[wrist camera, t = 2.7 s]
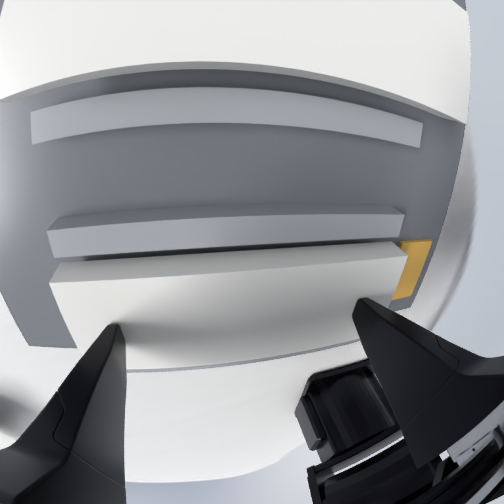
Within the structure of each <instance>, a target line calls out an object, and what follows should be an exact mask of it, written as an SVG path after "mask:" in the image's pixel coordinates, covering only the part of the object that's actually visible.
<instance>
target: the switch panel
mask: <svg viewBox="0 0 504 504" xmlns="http://www.w3.org/2000/svg"><path fill="white" fill-rule="evenodd" d="M453 1H454V2H455V3H456V4H458V5H459V6H460V7H461V8H463V9H464V10H465V11H466V5H465V0H453ZM3 4H4V0H0V15H1V11H2V8H3ZM464 130H465V124H463V123H460V122H456V121H453V120H449V119H445V118H441V117H439V116H436V115H434V114H432V113H429V112H427V111H424V110H421V109H419V108H416V107H414V106H411V105H408V104H405V103H402V102H399V101H397V100H393V99H390V98H387V97H384V96H381V95H377V94H374V93H371V92H367V91H363V90H360V89H356V88H352V87H348V86H344V85H339V84H335V83H330V82H325V81H320V80H315V79H309V78H303V77H297V76H291V75H283V74H275V73H266V72H256V71H243V70H223V69H181V70H161V71H149V72H138V73H130V74H122V75H115V76H109V77H103V78H97V79H92V80H87V81H82V82H77V83H73V84H69V85H65V86H61V87H57V88H53V89H50V90H46V91H43V92H39V93H36V94H33V95H30V96H27V97H24V98H21V99H18V100H16V101H8V102H0V292H1V294H2V296H3V298H4V300H5V302H6V304H7V306H8V308H9V310H10V312H11V314H12V316H13V318H14V320H15V322H16V324H17V326H18V328H19V329H20V331H21V333H22V335H23V336H24V338H25V340H26V342H27V343H28V345H29V346H40V347H58V348H77V346H76V344H75V342H74V340H73V338H72V336H71V334H70V332H69V329H68V327H67V325H66V323H65V321H64V319H63V316H62V314H61V312H60V310H59V307H58V305H57V302H56V300H55V297H54V295H53V292H52V290H51V287H50V285H49V282H50V280H51V278H52V276H53V275H54V273H55V271H56V269H57V268H58V266H59V264H60V263H64V262H79V261H94V260H109V259H124V258H139V257H155V256H170V255H185V254H201V253H216V252H232V251H247V250H263V249H279V248H295V247H311V246H326V245H343V244H359V243H375V242H393V243H394V244H395V245H396V246H397V247H399V248H400V249H401V250H402V251H403V252H405V253H406V254H407V255H408V258H407V261H406V263H405V266H404V269H403V272H402V274H401V277H400V280H399V282H398V285H397V287H396V290H395V292H394V295H393V297H392V300H391V302H390V304H389V307H388V309H390V310H392V311H398V310H401V309H405V308H409V307H411V305H412V303H413V301H414V299H415V296H416V294H417V292H418V290H419V287H420V285H421V283H422V280H423V278H424V276H425V273H426V271H427V268H428V266H429V263H430V260H431V258H432V255H433V252H434V250H435V247H436V244H437V241H438V238H439V235H440V232H441V229H442V226H443V223H444V220H445V216H446V213H447V209H448V206H449V202H450V199H451V195H452V191H453V187H454V183H455V178H456V174H457V169H458V165H459V160H460V154H461V149H462V143H463V137H464ZM358 341H360V338H359V339H355V340H351V341H347V342H343V343H338V344H334V345H330V346H325V347H321V348H316V349H311V350H306V351H301V352H296V353H290V354H285V355H279V356H273V357H267V358H260V359H254V360H246V361H239V362H231V363H222V364H213V365H203V366H191V367H178V368H160V369H126V373H131V372H163V371H180V370H193V369H204V368H214V367H223V366H232V365H240V364H247V363H254V362H261V361H267V360H273V359H279V358H285V357H290V356H296V355H301V354H306V353H311V352H315V351H320V350H325V349H329V348H333V347H338V346H342V345H346V344H350V343H354V342H358Z"/></svg>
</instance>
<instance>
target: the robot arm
mask: <svg viewBox="0 0 504 504" xmlns="http://www.w3.org/2000/svg"><path fill="white" fill-rule="evenodd" d="M352 319H353V322H354V325H355V327H356V330H357V333H358V335H359V338H360V341H361V343H362V346H363V348H364V351H365V353H366V355H367V357H368V359H369V360H368V361H365V362H362V363H358V364H355V365H351V366H348V367H344V368H341V369H337V370H333V371H330V372H326V373H322V374H318V375H314V376H312V377H310V378H309V379H308V380H307V383H306V385H305V388H304V391H303V393H302V396H301V398H300V400H299V403H298V405H297V407H296V410H295V413H294V414H295V416H296V417H297V419H298V422H299V424H300V427H301V429H302V432H303V435H304V437H305V440H306V442H307V445H308V447H309V449H310V450H312V451H314V450H317V452H318V455H319V457H320V460H321V462H322V463H321V464H319V465H316V466H311V467H309V468H307V473H308V477H307V479H308V483H309V488H310V492H311V497H312V501H313V504H486V503H488V502H490V501H492V500H494V499H497V498H498V497H500V496H502V495H504V356H500V357H494V358H485V357H481V356H478V355H476V354H474V353H472V352H470V351H467V350H465V349H463V348H461V347H459V346H457V345H455V344H453V343H451V342H449V341H447V340H445V339H443V338H441V337H439V336H438V335H435V334H434V333H432V332H430V331H429V330H427V329H425V328H423V327H421V326H419V325H418V324H416V323H414V322H412V321H410V320H408V319H407V318H405V317H403V316H401V315H399V314H397V313H396V312H394V311H392V310H390V309H388V308H386V307H384V306H383V305H381V304H379V303H377V302H375V301H373V300H371V299H370V298H367V297H364V298H359V299H358V300H357V302H356V304H355V307H354V310H353V313H352ZM374 373H376V376H377V378H378V380H379V382H380V383H379V382H378V380H377V378H376V377H375V375H374ZM380 384H381V385H380ZM126 385H127V379H126V342H125V339H124V336H123V333H122V330H121V327H120V325H119V324H108V325H107V326H106V327H105V329H104V330H103V331H102V332H101V333H100V335H99V336H98V337H97V338H96V340H95V341H94V342H93V343H92V345H91V346H90V347H89V349H88V350H87V351H86V352H85V354H84V355H83V356H82V358H81V359H80V360H79V361H78V363H77V364H76V365H75V367H74V368H73V369H72V371H71V372H70V373H69V375H68V376H67V377H66V379H65V380H64V382H63V383H62V384H61V386H60V387H59V388H58V391H56V392H55V394H54V395H53V397H52V398H51V399H50V401H49V402H48V403H47V405H46V406H45V408H44V409H43V410H42V411H41V412H40V414H39V415H38V416H37V417H36V419H35V420H34V421H33V422H32V423H31V424H30V426H29V427H28V428H27V429H26V430H25V432H24V433H23V434H22V435H21V436H20V438H19V439H18V440H17V441H16V442H15V443H14V444H12V445H11V446H9V447H7V448H4V449H1V450H0V504H126V491H125V473H124V423H125V401H126ZM381 386H382V387H381ZM402 436H404V439H402V440H401V441H399V442H398V443H396V444H394V445H393V446H391V447H389V448H387V449H386V450H384V451H382V452H380V453H379V454H377V455H375V456H374V457H371V458H369V459H368V460H366V461H364V462H362V463H360V464H358V465H356V466H354V467H352V468H350V469H348V470H345V471H343V472H341V473H339V474H336V475H334V474H333V473H335V472H337V471H339V470H341V469H343V468H346V467H348V466H350V465H352V464H354V463H356V462H358V461H360V460H362V459H364V458H366V457H368V456H370V455H371V454H373V453H375V452H377V451H379V450H380V449H382V448H384V447H386V446H387V445H389V444H391V443H392V442H394V441H396V440H397V439H399V438H400V437H402ZM445 450H447V452H448V453H449V455H450V456H448V457H447V458H446V459H445V460H443V461H442V459H441V458H440V456H439V455H440V454H441V453H442V452H444V451H445Z"/></svg>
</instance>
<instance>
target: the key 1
mask: <svg viewBox="0 0 504 504" xmlns="http://www.w3.org/2000/svg"><path fill="white" fill-rule="evenodd" d="M407 258H408V255H407V254H406V253H405V252H403V251H402V250H401V249H400V248H399V247H397V246H396V245H395V244H394V243H393V242H375V243H359V244H343V245H326V246H311V247H295V248H279V249H263V250H247V251H232V252H216V253H201V254H185V255H170V256H155V257H139V258H124V259H109V260H94V261H79V262H64V263H60V264H59V266H58V268H57V269H56V271H55V273H54V275H53V276H52V278H51V280H50V282H49V285H50V287H51V290H52V292H53V295H54V297H55V300H56V302H57V305H58V307H59V310H60V312H61V314H62V316H63V319H64V321H65V323H66V325H67V327H68V329H69V332H70V334H71V336H72V338H73V340H74V342H75V344H76V346H77V348H78V350H79V351H80V353H81V355H82V356H83V355H84V354H85V352H86V351H87V350H88V349H89V347H90V346H91V345H92V343H93V342H94V341H95V340H96V338H97V337H98V336H99V335H100V333H101V332H102V331H103V330H104V329H105V327H106V326H107V325H108V324H119V325H120V327H121V330H122V333H123V336H124V339H125V342H126V369H160V368H178V367H191V366H203V365H213V364H222V363H231V362H239V361H246V360H254V359H260V358H267V357H273V356H279V355H285V354H290V353H296V352H301V351H306V350H311V349H316V348H321V347H325V346H330V345H334V344H338V343H343V342H347V341H351V340H355V339H359V335H358V333H357V330H356V327H355V325H354V322H353V319H352V313H353V310H354V307H355V304H356V302H357V300H358V299H359V298H364V297H367V298H370V299H371V300H373V301H375V302H377V303H379V304H381V305H383V306H384V307H386V308H388V307H389V304H390V302H391V300H392V297H393V295H394V292H395V290H396V287H397V285H398V282H399V280H400V277H401V274H402V272H403V269H404V266H405V263H406V261H407Z"/></svg>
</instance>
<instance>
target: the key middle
mask: <svg viewBox="0 0 504 504" xmlns="http://www.w3.org/2000/svg"><path fill="white" fill-rule="evenodd" d="M470 46H471V45H470V28H469V18H468V13H467V12H466V11H465V10H464V9H463V8H461V7H460V6H459V5H458V4H456V3H455V2H454V1H453V0H4V4H3V8H2V11H1V15H0V102H8V101H16V100H18V99H21V98H24V97H27V96H30V95H33V94H36V93H39V92H43V91H46V90H50V89H53V88H57V87H61V86H65V85H69V84H73V83H77V82H82V81H87V80H92V79H97V78H103V77H109V76H115V75H122V74H130V73H138V72H149V71H161V70H181V69H223V70H243V71H256V72H266V73H275V74H283V75H291V76H297V77H303V78H309V79H315V80H320V81H325V82H330V83H335V84H339V85H344V86H348V87H352V88H356V89H360V90H363V91H367V92H371V93H374V94H377V95H381V96H384V97H387V98H390V99H393V100H397V101H399V102H402V103H405V104H408V105H411V106H414V107H416V108H419V109H421V110H424V111H427V112H429V113H432V114H434V115H436V116H439V117H441V118H445V119H449V120H453V121H456V122H460V123H463V124H467V119H468V109H469V98H470V79H471V48H470Z"/></svg>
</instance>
